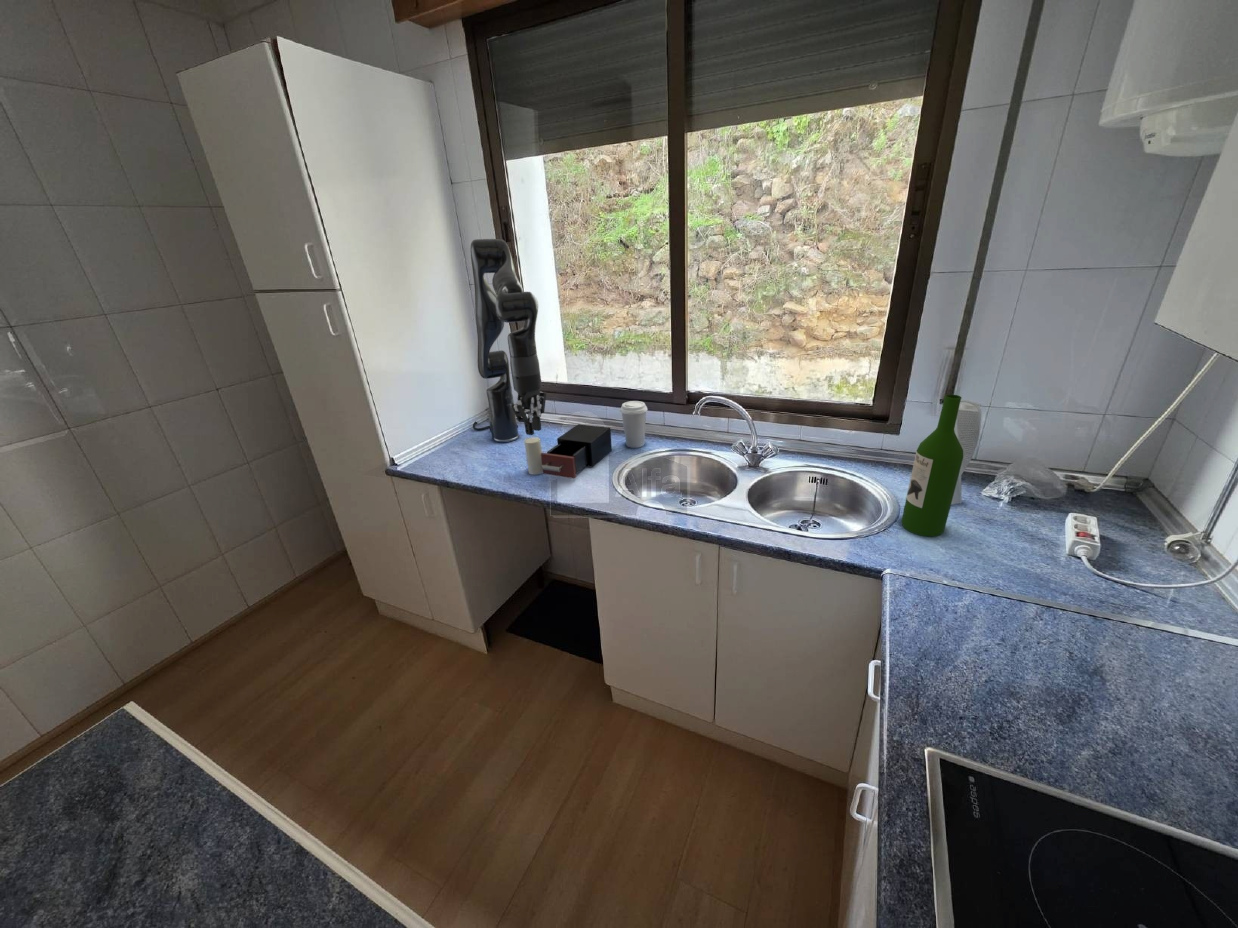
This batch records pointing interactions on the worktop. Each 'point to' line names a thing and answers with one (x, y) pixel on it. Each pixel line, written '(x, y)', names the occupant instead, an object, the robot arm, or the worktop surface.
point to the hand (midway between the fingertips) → (533, 432)
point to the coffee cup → (634, 422)
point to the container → (533, 455)
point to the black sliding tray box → (590, 440)
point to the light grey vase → (966, 437)
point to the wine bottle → (934, 475)
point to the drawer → (565, 459)
